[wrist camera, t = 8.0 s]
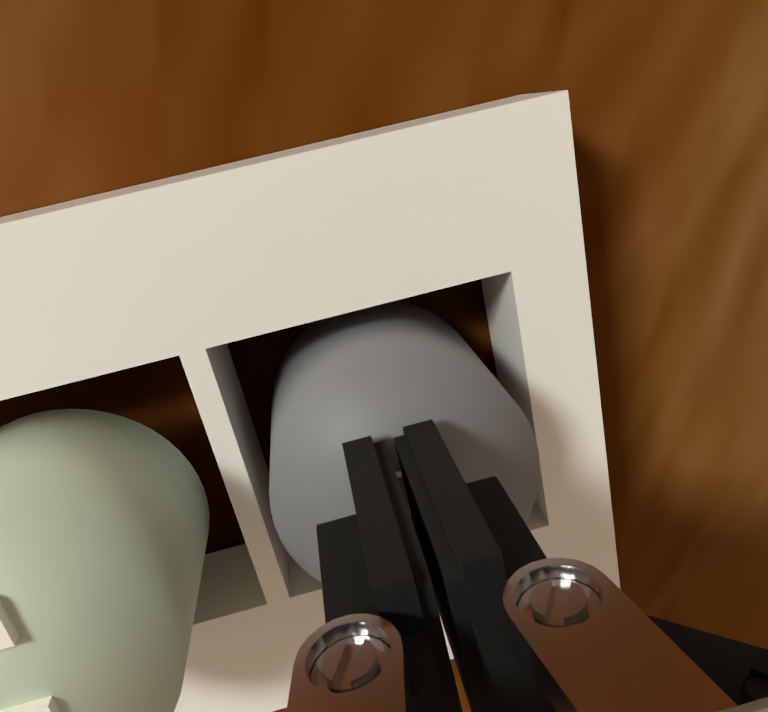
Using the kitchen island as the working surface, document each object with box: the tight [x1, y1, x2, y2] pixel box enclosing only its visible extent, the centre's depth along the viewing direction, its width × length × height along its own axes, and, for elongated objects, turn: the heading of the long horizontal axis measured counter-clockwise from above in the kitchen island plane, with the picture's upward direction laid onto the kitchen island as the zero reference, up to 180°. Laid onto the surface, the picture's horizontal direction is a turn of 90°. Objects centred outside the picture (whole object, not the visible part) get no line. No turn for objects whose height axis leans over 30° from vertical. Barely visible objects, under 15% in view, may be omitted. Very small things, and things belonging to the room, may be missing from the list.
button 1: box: [269, 300, 540, 583], centre depth 14 cm, size 5×5×4 cm
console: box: [0, 90, 620, 712], centre depth 14 cm, size 22×12×2 cm, turn 102°
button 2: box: [0, 409, 210, 712], centre depth 12 cm, size 5×5×4 cm
